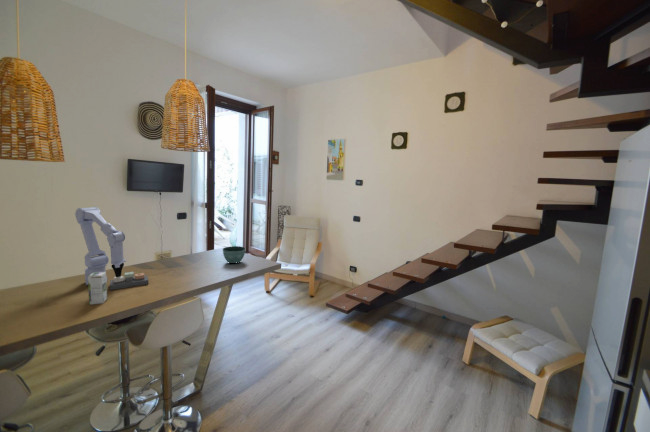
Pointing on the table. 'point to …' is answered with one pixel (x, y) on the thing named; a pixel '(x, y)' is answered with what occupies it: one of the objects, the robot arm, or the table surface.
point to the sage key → (129, 276)
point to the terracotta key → (139, 276)
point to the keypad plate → (128, 283)
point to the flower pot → (233, 253)
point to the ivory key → (118, 279)
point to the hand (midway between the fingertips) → (118, 276)
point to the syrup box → (97, 288)
